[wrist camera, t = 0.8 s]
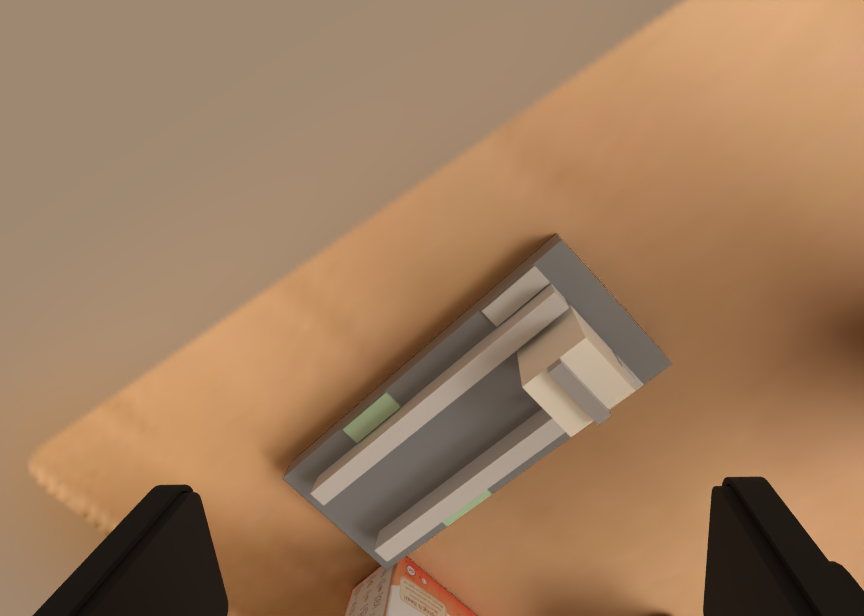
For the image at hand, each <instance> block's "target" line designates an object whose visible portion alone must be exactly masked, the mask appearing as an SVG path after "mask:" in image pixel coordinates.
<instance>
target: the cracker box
mask: <svg viewBox="0 0 864 616" xmlns="http://www.w3.org/2000/svg"><path fill="white" fill-rule="evenodd" d="M344 616H477V615H476V614H475V613H473V612H472V611H471V610H470V609H468V608H467V607H466V606H465V605H464V604H462V603H461V602H460V601H459V600H458V599H457V598H455V597H454V596H453V595H452V594H450V593H449V592H448V591H447V590H446V589H444V588H443V587H442V586H441V585H440V584H439V583H437V582H436V581H435V580H434V579H432V578H431V577H430V576H429V575H428V574H427V573H425V572H424V571H423V570H422V569H421V568H419V567H418V566H417V565H416V564H415V563H413V562H412V561H411V560H410V559H409V558H407V557H404V558H403V559H401V560H400V561H399V562H397V563H396V564H395V565H393V566H392V567H390V568H389V569H388V570H386V569H385V568H383V567H382V566H380V567H378V568H377V569H376V570H375V571H374V572H372V573H371V574H370V575H369V576H368V577H366V578H365V579H364V580H363V581H361V582H360V583H359V584H358V585H357V586H355V587H354V588H353V589H352V590H351V593H350V596H349V600H348V603H347V606H346V610H345V613H344Z"/></svg>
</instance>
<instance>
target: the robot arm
mask: <svg viewBox="0 0 864 616" xmlns="http://www.w3.org/2000/svg"><path fill="white" fill-rule="evenodd" d="M227 613H228V599H227V595H226V591H225V588H224V584H223V580H222V576H221V572H220V569H219V565H218V561H217V557H216V553H215V550H214V546H213V542H212V538H211V535H210V531H209V527H208V523H207V519H206V516H205V512H204V508H203V504H202V500H201V498H200V495H199V494H198V493H195V492H193V490H192V488H191V487H190V486H188V485H158V486H155V487H154V488H153V489H152V490H151V491H150V492H149V493H148V494H147V495H146V496H145V497H144V498H143V499H142V500H141V501H140V502H139V503H138V504H137V506H136V507H135V508H134V509H133V510H132V511H131V512H130V513H129V514H128V515H127V516H126V517H125V518H124V519H123V520H122V521H121V522H120V524H119V525H118V526H117V527H116V528H115V529H114V530H113V531H112V532H111V533H110V534H109V535H108V536H107V537H106V538H105V539H104V541H103V542H102V543H101V544H100V545H99V546H98V547H97V548H96V549H95V550H94V551H93V552H92V553H91V554H90V555H89V556H88V558H87V559H86V560H85V561H84V562H83V563H82V564H81V565H80V566H79V567H78V568H77V569H76V570H75V571H74V572H73V573H72V575H70V577H69V578H68V579H67V580H66V581H65V582H64V583H63V584H62V585H61V586H60V587H59V588H58V589H57V590H56V591H55V592H54V594H53V595H52V596H51V597H50V598H49V599H48V600H47V601H46V602H45V603H44V604H43V605H42V606H41V608H39V609H38V610H37V612H36V613H35V614H34V615H33V616H227ZM703 613H704V616H864V591H863V589H862V588H861V587H860V586H859V584H858V583H857V582H856V581H855V579H854V578H853V577H852V576H851V574H850V573H849V572H848V571H847V570H846V569H845V568H844V567H843V566H842V565H840V564H838V563H836V562H834V561H828V559H827V558H826V557H825V555H824V554H823V553H822V552H821V550H820V549H819V548H818V546H817V545H816V544H815V542H814V541H813V540H812V538H811V537H810V536H809V535H808V533H807V532H806V531H805V529H804V528H803V527H802V525H801V524H800V523H799V522H798V520H797V519H796V518H795V516H794V515H793V514H792V512H791V511H790V510H789V508H788V507H787V506H786V505H785V503H784V502H783V501H782V499H781V498H780V497H779V495H778V494H777V493H776V492H775V490H774V489H773V488H772V486H771V485H770V484H769V482H768V481H767V480H766V479H765V478H763V477H726V478H725V479H724V481H723V483H722V486H715V487H713V489H712V495H711V509H710V522H709V536H708V550H707V564H706V577H705V591H704V605H703Z"/></svg>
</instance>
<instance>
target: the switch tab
mask: <svg viewBox="0 0 864 616" xmlns="http://www.w3.org/2000/svg"><path fill="white" fill-rule="evenodd" d="M568 306H569V308H568V309H567V310H566V311H565V312H563V313H562V314H561V315H560V316H558V317H557V318H556V319H555V320H553V321H552V322H551V323H550V324H549V325H547V326H546V327H545V328H544V329H542V330H541V331H540V332H539V333H537V334H536V335H535V336H534V337H532V338H531V339H530V340H529V341H527V342H526V343H525V344H524V345H522V346H521V347H520V348H519V349H518V350H517V357H518V363H519V370H520V376H521V383H522V387H523V388H524V390H525V391H526V392H527V393H528V394H529V395H530V396H531V397H532V398H533V399H534V400H535V401H536V402H537V403H538V404H539V405H540V406H541V407H542V408H543V409H544V410H545V411H546V412H547V413H548V414H549V415H550V416H551V417H552V418H553V419H554V420H555V421H556V422H557V423H558V424H559V425H560V426H561V428H562V429H563V430H564V431H565V432H566V433H567V434H568V435H569V436H570V437H572V436H574V435H575V434H576V433H578V432H579V431H581V430H582V429H583V428H585V427H586V426H588V425H589V424H590V423H592V422H593V421H595V422H596V423H597V424H598V425H600V424H601V423H603V422H604V421H605V420H607V419H608V418H610V417H611V413H610V411H609V410H610V409H611V408H612V407H614V406H615V405H617V404H618V403H619V402H621V401H622V400H624V399H625V398H626V397H628V396H629V395H630V394H632V393H633V392H635V390H634V388H633V386H632V384H631V383H630V381H629V379H628V377H627V376H626V374H625V372H624V370H623V369H622V367H621V365H620V363H619V362H618V360H617V358H616V357H615V355H614V353H613V351H612V350H611V349H610V347H609V346H608V345H607V344H606V343H605V342H604V341H603V340H602V339H601V338H600V337H599V335H598V334H597V333H596V332H595V331H594V330H593V329H592V328H591V327H590V326H589V325H588V323H587V322H586V321H585V320H584V319H583V318H582V317H581V316H580V315H579V314H578V313H577V311H576V310H575V309H574V308H573V307H572V306H571V305H570V304H569V305H568Z"/></svg>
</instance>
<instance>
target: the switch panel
mask: <svg viewBox="0 0 864 616" xmlns="http://www.w3.org/2000/svg"><path fill="white" fill-rule="evenodd" d="M569 304H570V305H571V306H572V307H573V308H574V309H575V310H576V311H577V313H578V314H579V315H580V316H581V317H582V318H583V319H584V320H585V321H586V322H587V323H588V325H589V326H590V327H591V328H592V329H593V330H594V331H595V332H596V333H597V334H598V335H599V337H600V338H601V339H602V340H603V341H604V342H605V343H606V344H607V345H608V346H609V347H610V349H611V350H612V351H613V353H614V355H615V357H616V358H617V360H618V362H619V363H620V365H621V367H622V369H623V370H624V372H625V374H626V376H627V377H628V379H629V381H630V383H631V384H632V386H633V388H634V390H635V391H636V390H637V389H639V388H640V387H642V386H643V385H644V384H645V383H647V382H648V381H649V380H651V379H652V378H654V377H655V376H656V375H658V374H659V373H661V372H662V371H663V370H665V369H666V368H667V367H669V366H670V365H672V363H671V362H670V361H669V359H668V358H667V357H666V356H665V354H664V353H663V352H662V351H661V350H660V348H659V347H658V346H657V345H656V344H655V343H654V342H653V341H652V339H651V338H650V337H649V336H648V335H647V334H646V333H645V332H644V331H643V329H642V328H641V327H640V326H639V325H638V324H637V323H636V322H635V320H634V319H633V318H632V317H631V316H630V315H629V314H628V313H627V311H626V310H625V309H624V308H623V307H622V306H621V305H620V304H619V303H618V301H617V300H616V299H615V298H614V297H613V296H612V295H611V294H610V292H609V291H608V290H607V289H606V288H605V287H604V286H603V285H602V284H601V282H600V281H599V280H598V279H597V278H596V277H595V276H594V275H593V273H592V272H591V271H590V270H589V269H588V268H587V267H586V266H585V265H584V263H583V262H582V261H581V260H580V259H579V258H578V257H577V256H576V254H575V253H574V252H573V251H572V250H571V249H570V248H569V247H568V245H567V244H566V243H565V242H564V241H563V240H562V239H561V238H560V237H559V235H558V234H555V235H554V236H553V237H552V238H551V239H550V240H548V241H547V242H546V243H545V244H544V245H543V246H541V247H540V248H539V249H538V250H537V251H536V252H534V253H533V254H532V255H531V256H530V257H529V258H528V259H526V260H525V261H524V262H523V263H522V264H521V265H519V266H518V267H517V268H516V269H515V270H514V271H512V272H511V273H510V274H509V275H508V276H507V277H505V278H504V279H503V280H502V281H501V282H500V283H498V284H497V285H496V286H495V287H494V288H493V289H492V290H490V291H489V292H488V293H487V294H486V295H485V296H483V297H482V298H481V299H480V300H479V301H478V302H476V303H475V304H474V305H473V306H472V307H471V308H469V309H468V310H467V311H466V312H465V313H464V314H462V315H461V316H460V317H459V318H458V319H457V320H456V321H454V322H453V323H452V324H451V325H450V326H449V327H447V328H446V329H445V330H444V331H443V332H442V333H440V334H439V335H438V336H437V337H436V338H435V339H433V340H432V341H431V342H430V343H429V344H428V345H426V346H425V347H424V348H423V349H422V350H421V351H420V352H418V353H417V354H416V355H415V356H414V357H413V358H411V359H410V360H409V361H408V362H407V363H406V364H404V365H403V366H402V367H401V368H400V369H399V370H397V371H396V372H395V373H394V374H393V375H392V376H390V377H389V378H388V379H387V380H386V381H385V382H384V383H382V384H381V385H380V386H379V387H378V388H377V389H375V390H374V391H373V392H372V393H371V394H370V395H368V396H367V397H366V398H365V399H364V400H363V401H361V402H360V403H359V404H358V405H357V406H356V407H354V408H353V409H352V410H351V411H350V412H349V413H348V414H346V415H345V416H344V417H343V418H342V419H341V420H339V421H338V422H337V423H336V424H335V425H334V426H332V427H331V428H330V429H329V430H328V431H327V432H325V433H324V434H323V435H322V436H321V437H320V438H318V439H317V440H316V441H315V442H314V443H313V444H312V445H310V446H309V447H308V448H307V449H306V450H305V451H303V452H302V453H301V454H300V455H299V456H298V457H296V458H295V459H294V460H293V461H292V462H291V464H290V466H289V468H288V469H287V471H286V473H285V475H284V476H283V478H282V479H284V480H285V481H286V482H287V483H288V484H289V485H290V486H292V487H293V488H294V489H295V490H296V491H297V492H298V493H299V494H301V495H302V496H303V497H304V498H305V499H306V500H307V501H309V502H310V503H311V504H312V505H313V506H314V507H315V508H316V509H318V510H319V511H320V512H321V513H322V514H323V515H324V516H326V517H327V518H328V519H329V520H330V521H331V522H332V523H333V524H335V525H336V526H337V527H338V528H339V529H340V530H341V531H343V532H344V533H345V534H346V535H347V536H348V537H349V538H351V539H352V540H353V541H354V542H355V543H356V544H357V545H358V546H360V547H361V548H362V549H363V550H364V551H365V552H366V553H368V554H369V555H370V556H371V557H372V558H373V559H374V560H375V561H377V562H378V563H379V564H380V565H381V566H382V567H383V568H385V569H386V570H388V569H389V568H390V567H392V566H393V565H395V564H396V563H397V562H399V561H400V560H401V559H403V558H404V557H406V556H407V555H408V554H410V553H411V552H413V551H414V550H415V549H417V548H418V547H419V546H421V545H422V544H424V543H425V542H426V541H428V540H429V539H431V538H432V537H433V536H435V535H436V534H438V533H439V532H440V531H442V530H443V529H444V528H446V527H448V526H449V525H450V524H452V523H453V522H454V521H456V520H457V519H459V518H460V517H461V516H463V515H464V514H466V513H467V512H468V511H470V510H471V509H473V508H474V507H475V506H477V505H478V504H479V503H481V502H482V501H484V500H485V499H486V498H488V497H489V496H491V495H492V494H493V493H494V492H496V491H497V490H498V489H500V488H501V487H503V486H504V485H505V484H507V483H508V482H510V481H511V480H512V479H514V478H515V477H516V476H518V475H519V474H521V473H522V472H523V471H525V470H526V469H528V468H529V467H530V466H532V465H533V464H534V463H536V462H537V461H539V460H540V459H541V458H543V457H544V456H546V455H547V454H548V453H550V452H551V451H552V450H554V449H555V448H557V447H558V446H559V445H561V444H562V443H564V442H565V441H566V440H568V439H569V438H571V437H570V436H569V435H568V434H567V433H566V432H565V431H564V430H563V429H562V428H561V426H560V425H559V424H558V423H557V422H556V421H555V420H554V419H553V418H552V417H551V416H550V415H549V414H548V413H547V412H546V411H545V410H544V409H543V408H542V407H541V406H540V405H539V404H538V403H537V402H536V401H535V400H534V399H533V398H532V397H531V396H530V395H529V394H528V393H527V392H526V391H525V390H524V388H523V387H522V383H521V376H520V370H519V363H518V357H517V350H518V349H519V348H520V347H521V346H522V345H524V344H525V343H526V342H527V341H529V340H530V339H531V338H532V337H534V336H535V335H536V334H537V333H539V332H540V331H541V330H542V329H544V328H545V327H546V326H547V325H549V324H550V323H551V322H552V321H553V320H555V319H556V318H557V317H558V316H560V315H561V314H562V313H563V312H565V311H566V310H567V309H568V308H569V306H568V305H569Z"/></svg>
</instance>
